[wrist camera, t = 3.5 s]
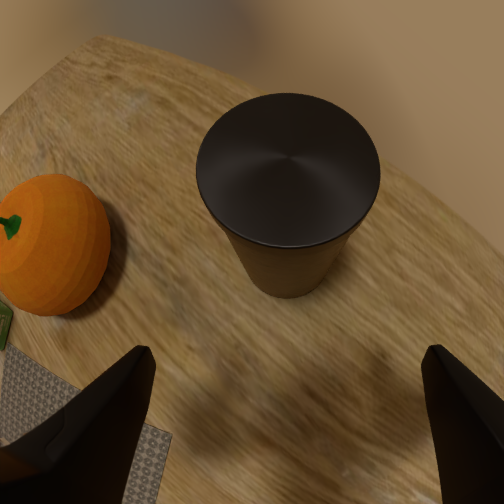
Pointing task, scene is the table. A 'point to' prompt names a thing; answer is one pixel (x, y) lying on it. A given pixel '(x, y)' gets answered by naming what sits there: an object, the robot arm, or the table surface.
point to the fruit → (52, 244)
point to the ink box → (4, 323)
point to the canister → (287, 186)
